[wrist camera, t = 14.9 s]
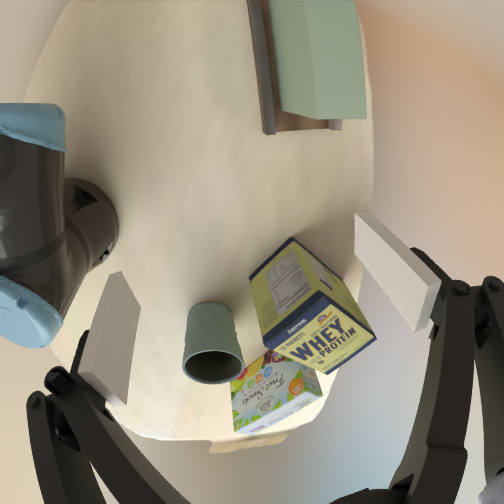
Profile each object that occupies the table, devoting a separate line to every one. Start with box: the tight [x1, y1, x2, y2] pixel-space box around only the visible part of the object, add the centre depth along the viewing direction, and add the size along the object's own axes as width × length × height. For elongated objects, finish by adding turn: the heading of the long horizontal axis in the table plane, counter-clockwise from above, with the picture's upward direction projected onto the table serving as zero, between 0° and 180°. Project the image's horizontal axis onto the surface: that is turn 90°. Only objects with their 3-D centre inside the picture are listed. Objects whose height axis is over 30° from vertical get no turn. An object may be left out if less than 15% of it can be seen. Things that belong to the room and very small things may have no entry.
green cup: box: [182, 302, 244, 384], centre depth 47 cm, size 10×10×12 cm
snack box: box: [230, 350, 323, 435], centre depth 56 cm, size 21×6×15 cm, turn 140°
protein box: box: [249, 237, 377, 375], centre depth 44 cm, size 10×16×16 cm
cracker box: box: [268, 0, 367, 119], centre depth 24 cm, size 16×5×14 cm, turn 6°
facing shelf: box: [247, 0, 342, 135], centre depth 29 cm, size 11×22×3 cm, turn 6°
